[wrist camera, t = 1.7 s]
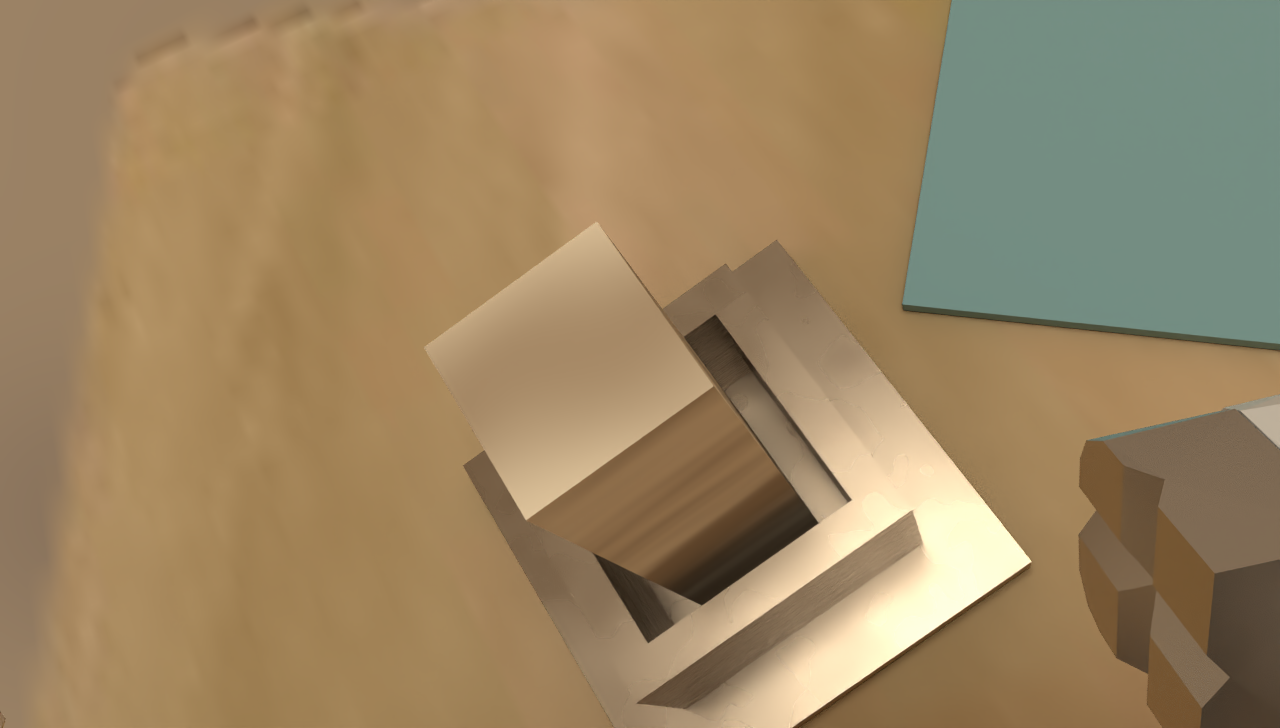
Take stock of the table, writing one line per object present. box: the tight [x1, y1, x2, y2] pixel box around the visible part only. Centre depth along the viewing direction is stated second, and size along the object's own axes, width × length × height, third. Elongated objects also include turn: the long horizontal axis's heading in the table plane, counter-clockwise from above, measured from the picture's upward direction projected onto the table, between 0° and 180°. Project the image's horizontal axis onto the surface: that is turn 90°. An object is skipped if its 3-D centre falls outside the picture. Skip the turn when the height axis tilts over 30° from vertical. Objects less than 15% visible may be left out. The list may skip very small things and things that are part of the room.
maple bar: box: [424, 222, 819, 605], centre depth 27 cm, size 4×4×14 cm
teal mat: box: [902, 0, 1280, 350], centre depth 34 cm, size 16×16×1 cm
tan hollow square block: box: [463, 240, 1031, 728], centre depth 32 cm, size 12×12×6 cm
